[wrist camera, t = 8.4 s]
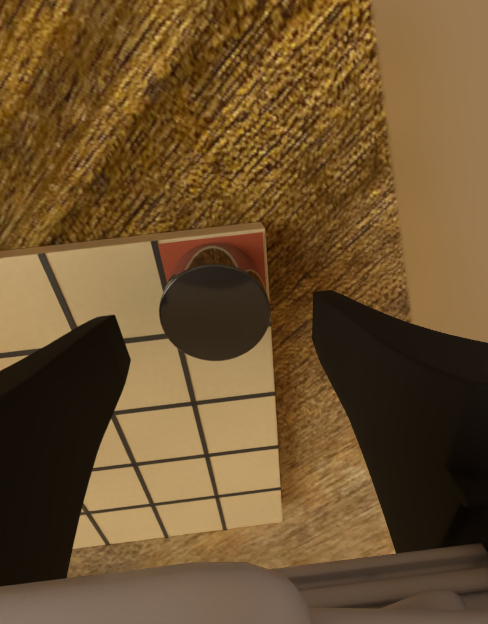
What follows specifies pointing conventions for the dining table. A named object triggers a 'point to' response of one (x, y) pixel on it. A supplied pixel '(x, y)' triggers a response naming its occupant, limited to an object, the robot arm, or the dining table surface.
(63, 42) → the dining table surface
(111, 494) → the board
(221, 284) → the dark grey cylinder
